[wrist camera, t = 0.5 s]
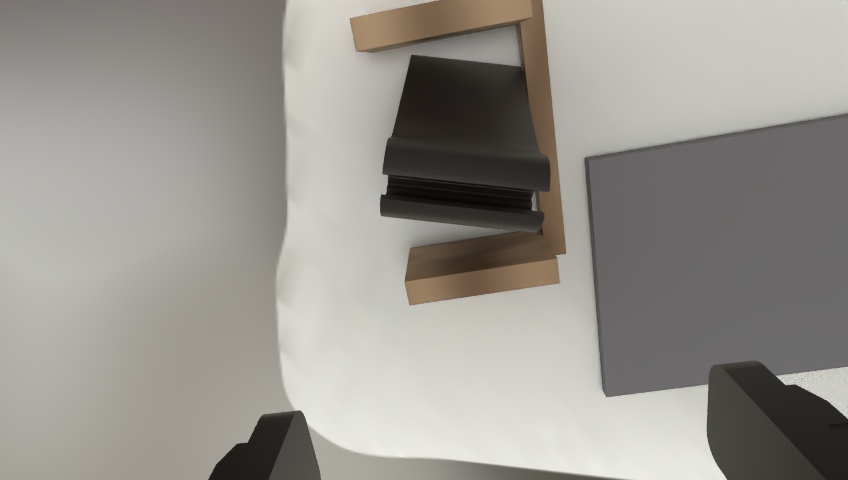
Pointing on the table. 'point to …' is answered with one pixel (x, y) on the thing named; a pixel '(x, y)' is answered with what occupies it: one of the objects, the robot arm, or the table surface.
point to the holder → (524, 251)
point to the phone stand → (464, 148)
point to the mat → (721, 255)
